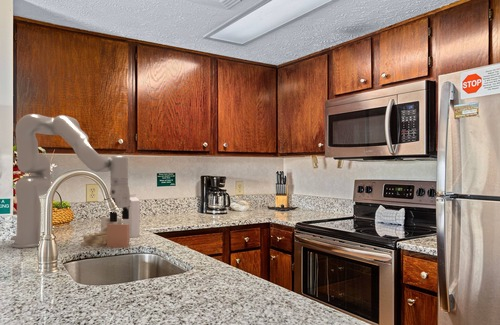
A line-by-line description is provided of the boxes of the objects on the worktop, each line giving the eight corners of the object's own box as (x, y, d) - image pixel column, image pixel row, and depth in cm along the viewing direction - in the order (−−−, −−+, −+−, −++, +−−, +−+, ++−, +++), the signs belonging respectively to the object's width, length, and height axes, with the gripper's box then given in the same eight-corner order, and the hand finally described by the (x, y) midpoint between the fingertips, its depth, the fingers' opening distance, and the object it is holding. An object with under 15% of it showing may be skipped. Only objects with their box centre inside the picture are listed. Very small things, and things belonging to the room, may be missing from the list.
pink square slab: (107, 246, 176) (107, 224, 177) (109, 245, 178) (109, 223, 179) (126, 247, 174) (127, 225, 174) (129, 246, 176) (129, 224, 176)
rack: (80, 245, 178) (81, 220, 179) (103, 238, 196) (104, 216, 196) (103, 246, 176) (104, 221, 176) (125, 239, 193) (125, 217, 193)
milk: (122, 237, 201) (122, 194, 201) (131, 235, 206) (131, 193, 207) (131, 238, 198) (131, 194, 199) (139, 236, 204) (140, 194, 204)
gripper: (115, 183, 168) (116, 223, 167) (136, 182, 184) (136, 218, 184) (100, 183, 169) (100, 222, 169) (122, 182, 186) (122, 217, 186)
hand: (119, 220), depth 176 cm, fingers open, 9 cm apart
